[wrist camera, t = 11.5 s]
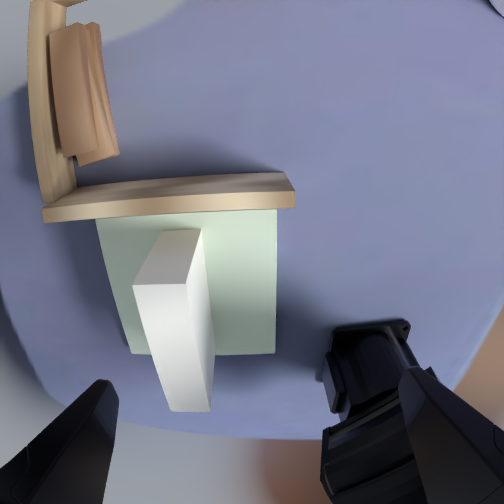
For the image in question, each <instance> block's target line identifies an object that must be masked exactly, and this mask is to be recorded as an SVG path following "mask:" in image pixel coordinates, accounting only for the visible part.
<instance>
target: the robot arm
mask: <svg viewBox="0 0 504 504" xmlns="http://www.w3.org/2000/svg"><path fill="white" fill-rule="evenodd" d="M403 327H404V328H403ZM410 328H411V325H410V324H409V322H408V321H398V322H389V323H381V324H372V325H362V326H352V327H341V328H336V329H335V330H334V331H333V332H332V337H331V343H330V349H329V352H327V353H326V355H325V359H324V365H323V371H322V378H323V382H324V386H325V390H326V394H327V398H328V403H329V407H330V411H331V412H332V413H333V414H337V413H338V414H339V418H340V421H341V422H340V423H338V424H336V425H334V426H332V427H328V428H326V429H324V430H323V436H322V454H321V470H320V472H321V474H320V481H321V483H322V484H323V487H324V489H325V491H326V493H327V495H328V497H329V498H330V500H331V502H332V503H333V504H504V431H503V430H502V429H500V428H499V427H498V426H497V425H494V423H492V422H491V421H490V420H489V419H487V418H486V417H485V416H483V415H482V414H481V413H480V412H478V411H477V410H475V409H474V408H473V407H472V406H470V405H469V404H468V403H466V402H465V401H464V400H462V399H461V398H460V397H459V396H457V395H456V394H455V393H453V392H452V391H451V390H449V389H448V388H447V387H445V386H444V385H443V384H442V383H441V382H440V380H439V379H438V377H437V376H436V374H435V372H434V371H433V369H432V368H431V366H430V367H429V368H427V369H426V370H423V369H422V368H421V367H420V365H419V364H418V362H417V360H416V358H415V356H414V354H413V353H412V351H411V349H410V347H409V345H408V344H407V342H406V341H407V338H408V335H409V331H410ZM338 334H340V335H338ZM118 408H119V398H118V395H117V393H116V391H115V389H114V387H113V385H112V383H111V382H110V381H109V380H102V379H99V380H96V381H95V382H94V383H93V384H92V385H91V386H90V387H89V388H88V389H87V390H86V391H84V392H83V393H82V394H81V395H80V396H79V397H78V398H77V399H76V400H75V401H74V402H73V403H72V404H70V405H69V406H68V407H67V408H66V409H65V410H64V411H63V412H62V413H61V414H60V415H59V416H58V417H57V418H55V419H54V420H53V421H52V423H50V424H49V425H48V426H47V427H46V428H45V429H44V430H43V431H42V432H41V433H39V434H38V435H37V436H36V437H35V438H34V439H33V440H32V441H31V442H30V443H29V444H28V445H27V446H26V447H24V448H23V449H22V450H21V451H20V452H19V453H18V454H17V455H16V456H15V457H14V458H12V459H11V460H10V461H9V462H8V463H7V464H5V465H4V466H3V467H2V468H0V504H102V503H103V498H104V492H105V487H106V481H107V476H108V471H109V467H110V462H111V457H112V453H113V448H114V442H115V433H116V424H117V416H118Z"/></svg>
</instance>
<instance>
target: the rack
mask: <svg viewBox="0 0 504 504" xmlns="http://www.w3.org/2000/svg"><path fill="white" fill-rule="evenodd" d="M83 1H87V0H35V1H33V2H31V3H30V13H29V26H28V27H29V28H28V94H29V110H30V121H31V131H32V140H33V148H34V155H35V162H36V168H37V174H38V180H39V185H40V190H41V195H42V200H43V204H47V203H49V204H48V205H46V206H45V207H43V208H42V209H41V212H42V217H43V221H44V223H52V222H63V221H73V220H84V219H96V218H108V217H121V216H134V215H149V214H164V213H181V212H200V211H221V210H246V209H276V208H295V190H294V188H293V187H292V185H291V183H290V181H289V180H288V178H287V176H286V174H285V173H284V172H278V173H242V174H220V175H202V176H186V177H173V178H160V179H149V180H138V181H128V182H119V183H110V184H101V185H93V186H85V187H78V188H77V182H76V176H75V169H74V163H73V156H70V157H66V158H63V153H62V148H61V142H60V136H59V130H58V124H57V117H56V110H55V102H54V93H53V84H52V72H51V59H50V37H49V34H50V33H53V32H55V31H57V30H60V29H62V28H65V27H66V7H69V6H72V5H75V4H77V3H81V2H83Z"/></svg>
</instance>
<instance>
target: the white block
mask: <svg viewBox="0 0 504 504" xmlns="http://www.w3.org/2000/svg"><path fill="white" fill-rule="evenodd" d="M132 287H133V291H134V295H135V299H136V302H137V306H138V310H139V314H140V317H141V321H142V324H143V328H144V331H145V335H146V338H147V341H148V345H149V348H150V351H151V354H152V357H153V361H154V364H155V367H156V370H157V373H158V376H159V379H160V382H161V385H162V387H163V390H164V393H165V396H166V399H167V401H168V404H169V407H170V410H171V411H183V412H211V399H212V386H213V374H214V362H215V351H216V343H215V336H214V328H213V321H212V313H211V306H210V298H209V290H208V282H207V273H206V265H205V256H204V247H203V238H202V229H190V230H172V231H162V232H161V233H160V235H159V237H158V239H157V240H156V242H155V244H154V246H153V247H152V249H151V251H150V253H149V255H148V256H147V258H146V260H145V262H144V264H143V265H142V267H141V269H140V271H139V273H138V275H137V277H136V278H135V280H134V282H133V284H132Z"/></svg>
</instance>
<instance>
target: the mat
mask: <svg viewBox="0 0 504 504" xmlns="http://www.w3.org/2000/svg"><path fill="white" fill-rule="evenodd" d="M95 221H96V226H97V231H98V235H99V240H100V244H101V249H102V253H103V257H104V261H105V265H106V269H107V273H108V277H109V281H110V285H111V288H112V292H113V296H114V299H115V303H116V306H117V309H118V313H119V316H120V319H121V322H122V326H123V329H124V332H125V335H126V338H127V341H128V344H129V347H130V350H131V353H132V354H150V355H152V354H151V351H150V348H149V345H148V341H147V338H146V335H145V331H144V328H143V324H142V321H141V317H140V314H139V310H138V306H137V302H136V299H135V295H134V291H133V287H132V284H133V282H134V280H135V278H136V277H137V275H138V273H139V271H140V269H141V267H142V265H143V264H144V262H145V260H146V258H147V256H148V255H149V253H150V251H151V249H152V247H153V246H154V244H155V242H156V240H157V239H158V237H159V235H160V233H161V232H162V231H172V230H190V229H202V238H203V247H204V256H205V265H206V273H207V282H208V290H209V298H210V306H211V313H212V321H213V328H214V336H215V343H216V351H215V355H249V354H272V353H275V338H276V274H277V208H276V209H246V210H221V211H200V212H181V213H164V214H149V215H134V216H121V217H108V218H96V219H95Z"/></svg>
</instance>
